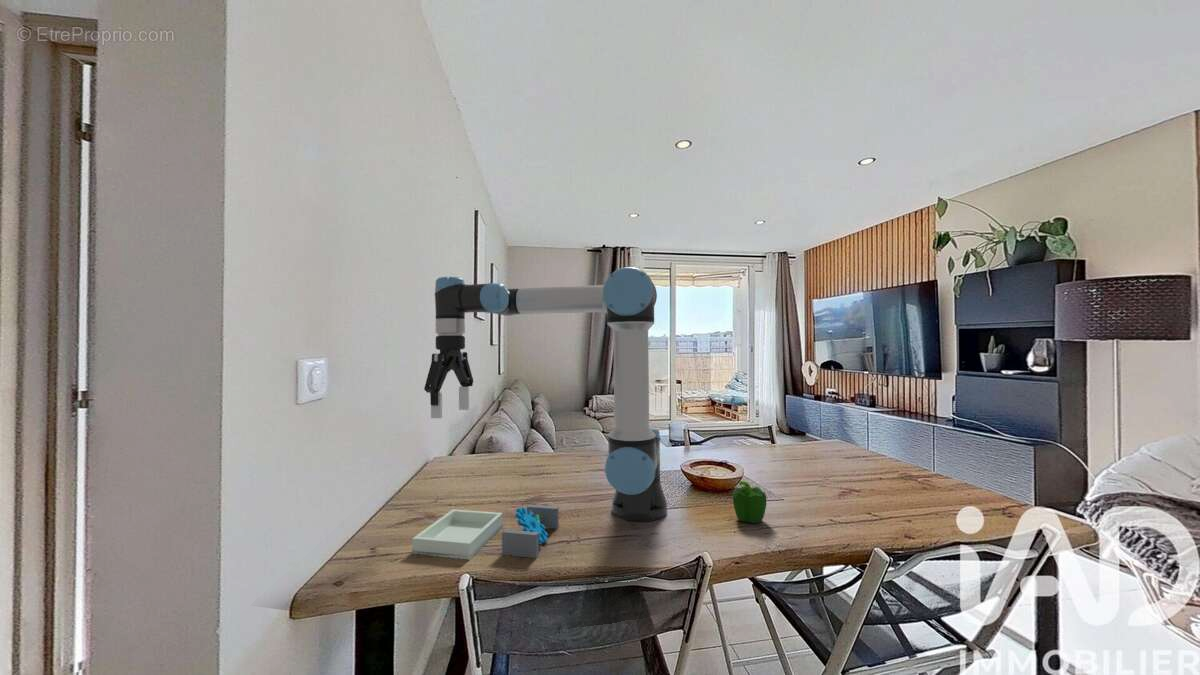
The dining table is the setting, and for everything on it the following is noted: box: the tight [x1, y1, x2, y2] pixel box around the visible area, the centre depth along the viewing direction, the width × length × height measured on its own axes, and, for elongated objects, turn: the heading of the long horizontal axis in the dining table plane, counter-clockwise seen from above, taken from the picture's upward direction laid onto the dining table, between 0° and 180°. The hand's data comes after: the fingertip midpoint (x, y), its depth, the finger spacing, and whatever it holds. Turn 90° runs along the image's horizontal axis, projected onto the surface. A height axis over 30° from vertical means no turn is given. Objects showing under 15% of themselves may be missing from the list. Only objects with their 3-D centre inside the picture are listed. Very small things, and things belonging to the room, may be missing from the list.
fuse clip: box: [501, 504, 560, 559], centre depth 104 cm, size 8×16×5 cm, turn 168°
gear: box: [514, 507, 549, 545], centre depth 104 cm, size 11×6×10 cm
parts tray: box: [411, 509, 504, 561], centre depth 105 cm, size 14×17×4 cm
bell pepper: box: [732, 480, 767, 524], centre depth 114 cm, size 8×8×10 cm
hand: (451, 413), depth 118 cm, fingers open, 13 cm apart
